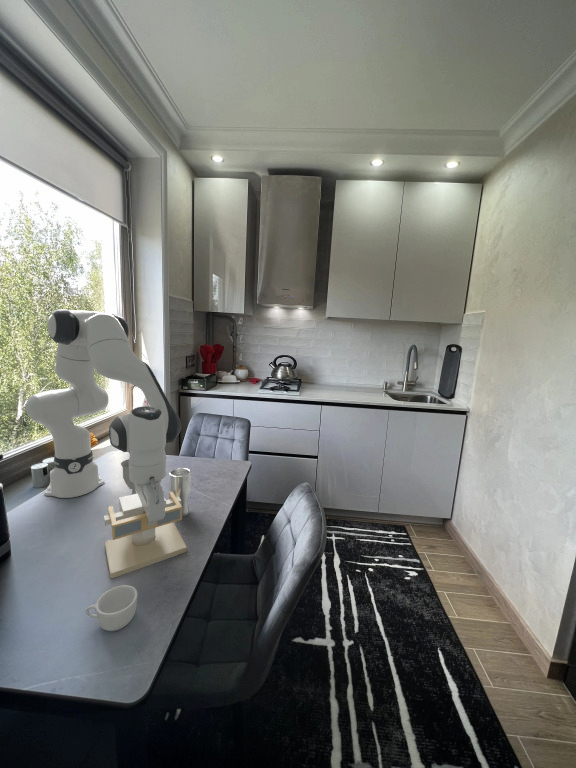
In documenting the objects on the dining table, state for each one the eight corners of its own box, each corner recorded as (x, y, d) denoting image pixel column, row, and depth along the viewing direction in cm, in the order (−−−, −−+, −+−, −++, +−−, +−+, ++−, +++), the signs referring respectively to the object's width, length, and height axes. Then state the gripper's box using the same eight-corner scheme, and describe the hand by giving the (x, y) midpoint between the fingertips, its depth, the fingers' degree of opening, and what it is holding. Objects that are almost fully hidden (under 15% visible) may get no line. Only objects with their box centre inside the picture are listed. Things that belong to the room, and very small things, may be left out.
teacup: (141, 603, 72) (141, 582, 71) (132, 634, 65) (131, 612, 64) (93, 608, 70) (92, 587, 69) (78, 642, 63) (77, 619, 62)
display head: (103, 546, 90) (101, 501, 87) (174, 525, 101) (173, 485, 98) (109, 579, 78) (107, 528, 76) (187, 551, 90) (187, 506, 87)
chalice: (122, 519, 102) (120, 468, 99) (122, 509, 108) (120, 459, 105) (147, 515, 105) (145, 464, 102) (145, 504, 111) (144, 456, 108)
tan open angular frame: (108, 520, 86) (108, 506, 85) (172, 503, 95) (172, 491, 95) (113, 540, 78) (112, 525, 77) (182, 519, 88) (182, 506, 87)
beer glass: (184, 520, 104) (184, 478, 101) (165, 516, 105) (164, 475, 103) (194, 509, 110) (194, 469, 108) (176, 505, 112) (176, 466, 109)
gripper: (171, 484, 74) (171, 536, 77) (152, 454, 91) (153, 498, 93) (142, 490, 71) (144, 545, 73) (128, 458, 87) (129, 503, 89)
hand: (149, 518), depth 83 cm, fingers open, 4 cm apart
